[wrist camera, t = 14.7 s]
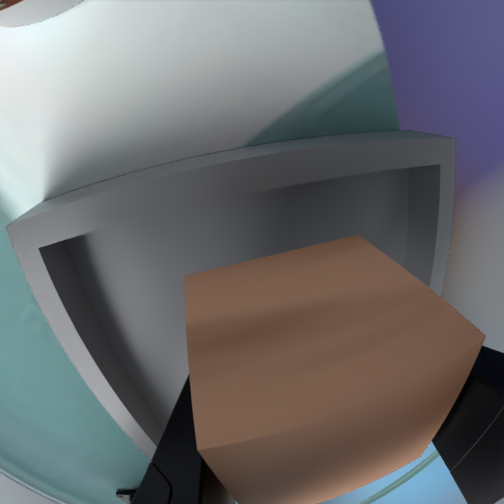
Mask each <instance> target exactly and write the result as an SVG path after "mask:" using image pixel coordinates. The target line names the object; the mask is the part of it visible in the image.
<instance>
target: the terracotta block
mask: <svg viewBox="0 0 504 504" xmlns="http://www.w3.org/2000/svg"><path fill="white" fill-rule="evenodd" d="M184 295H185V318H186V336H187V351H188V365H189V377H190V388H191V399H192V409H193V418H194V427H195V435H196V443H197V450H198V452H199V453H200V455H201V456H202V457H203V459H204V460H205V462H206V463H207V464H208V466H209V467H210V468H211V470H212V471H213V472H214V474H215V475H216V476H217V478H218V479H219V480H220V482H221V483H222V484H223V485H224V487H225V488H226V489H227V491H228V492H229V493H230V494H231V495H232V497H233V498H234V499H235V500H236V502H237V503H238V504H318V503H321V502H324V501H327V500H330V499H332V498H335V497H338V496H340V495H343V494H346V493H348V492H350V491H353V490H355V489H358V488H360V487H362V486H365V485H367V484H369V483H371V482H373V481H376V480H378V479H380V478H382V477H384V476H386V475H388V474H390V473H392V472H394V471H396V470H397V469H400V468H401V467H403V466H405V465H407V464H409V463H411V462H412V461H414V460H416V459H418V458H419V457H421V455H422V454H423V452H424V451H425V449H426V448H427V447H428V445H429V444H430V442H431V441H432V439H433V438H434V436H435V435H436V433H437V431H438V430H439V428H440V427H441V425H442V423H443V422H444V420H445V418H446V417H447V415H448V413H449V412H450V410H451V408H452V406H453V404H454V403H455V401H456V399H457V397H458V395H459V393H460V391H461V390H462V388H463V386H464V384H465V382H466V380H467V378H468V376H469V373H470V371H471V369H472V367H473V365H474V363H475V360H476V358H477V356H478V354H479V351H480V349H481V346H482V344H483V342H484V339H485V337H486V336H485V335H484V334H483V333H482V332H481V331H480V330H479V329H478V328H477V327H475V326H474V325H473V324H472V323H471V322H469V321H468V320H467V319H466V318H465V317H464V316H463V315H461V314H460V313H459V312H458V311H457V310H456V309H454V308H453V307H452V306H451V305H450V304H448V303H447V302H446V301H445V300H443V299H442V298H441V297H440V296H439V295H437V294H436V293H435V292H434V291H432V290H431V289H430V288H429V287H427V286H426V285H425V284H424V283H422V282H421V281H420V280H418V279H417V278H416V277H415V276H413V275H412V274H411V273H409V272H408V271H407V270H406V269H404V268H403V267H402V266H400V265H399V264H398V263H396V262H395V261H394V260H392V259H391V258H390V257H388V256H387V255H386V254H384V253H383V252H381V251H380V250H379V249H377V248H376V247H375V246H373V245H372V244H370V243H369V242H368V241H366V240H365V239H363V238H362V237H361V236H359V235H354V236H350V237H345V238H341V239H337V240H333V241H329V242H325V243H321V244H316V245H312V246H308V247H304V248H300V249H296V250H291V251H287V252H283V253H279V254H275V255H270V256H266V257H262V258H258V259H253V260H249V261H245V262H241V263H237V264H232V265H228V266H224V267H219V268H215V269H211V270H207V271H202V272H198V273H194V274H189V275H185V276H184Z"/></svg>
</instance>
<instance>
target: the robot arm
mask: <svg viewBox="0 0 504 504" xmlns="http://www.w3.org/2000/svg"><path fill="white" fill-rule="evenodd" d="M432 442H433V444H434V446H435V447H436V449H437V451H438V452H439V454H440V456H441V457H442V459H443V461H444V462H445V464H446V466H447V468H448V469H449V471H451V472H450V473H451V475H452V477H453V478H454V480H455V482H456V484H457V485H458V487H459V489H460V491H461V493H462V494H463V496H464V498H465V500H466V501H467V503H468V504H494V503H496V502H498V501H499V500H501V499H502V498H504V353H502V352H499V351H496V350H493V349H490V348H488V347H485V346H481V349H480V351H479V354H478V356H477V358H476V360H475V363H474V365H473V367H472V369H471V371H470V373H469V376H468V378H467V380H466V382H465V384H464V386H463V388H462V390H461V391H460V393H459V395H458V397H457V399H456V401H455V403H454V404H453V406H452V408H451V410H450V412H449V413H448V415H447V417H446V418H445V420H444V422H443V423H442V425H441V427H440V428H439V430H438V431H437V433H436V435H435V436H434V438H433V439H432ZM151 461H152V462H151V463H150V464H149V466H148V469H147V471H146V474H145V476H144V478H143V480H142V482H141V484H140V486H139V488H138V490H137V492H116V496H117V497H118V498H120V499H121V500H123V501H124V502H126V503H128V504H236V502H235V499H234V498H233V497H232V495H231V494H230V493H229V492H228V491H227V489H226V488H225V487H224V485H223V484H222V483H221V482H220V480H219V479H218V478H217V476H216V475H215V474H214V472H213V471H212V470H211V468H210V467H209V466H208V464H207V463H206V462H205V460H204V459H203V457H202V456H201V455H200V453H199V452H198V450H197V443H196V435H195V427H194V418H193V409H192V399H191V388H190V377H189V374H188V377H187V379H186V381H185V383H184V386H183V388H182V390H181V393H180V395H179V397H178V399H177V402H176V404H175V406H174V409H173V411H172V413H171V416H170V418H169V420H168V423H167V425H166V427H165V429H164V432H163V434H162V436H161V439H160V441H159V443H158V446H157V448H156V450H155V453H154V455H153V457H152V460H151Z"/></svg>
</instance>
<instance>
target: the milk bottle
mask: <svg viewBox="0 0 504 504" xmlns="http://www.w3.org/2000/svg"><path fill="white" fill-rule="evenodd" d="M81 1H83V0H0V26H3V27H20V26H25V25H30V24H34V23H38V22H41V21H44V20H46V19H48V18H51V17H54V16H57V15H59V14H60V13H62V12H64V11H66V10H68V9H70V8H72V7H74V6H75V5H77V4H78V3H80V2H81Z"/></svg>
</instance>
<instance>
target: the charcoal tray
mask: <svg viewBox="0 0 504 504" xmlns="http://www.w3.org/2000/svg"><path fill="white" fill-rule="evenodd" d="M455 180H456V138H453V137H448V136H442V135H437V134H431V133H424V132H417V131H409V130H404V131H380V132H364V133H351V134H339V135H329V136H319V137H311V138H302V139H295V140H287V141H280V142H273V143H267V144H260V145H254V146H248V147H243V148H237V149H231V150H226V151H221V152H216V153H211V154H206V155H201V156H197V157H192V158H188V159H183V160H179V161H175V162H170V163H166V164H162V165H158V166H154V167H150V168H147V169H143V170H139V171H135V172H132V173H128V174H125V175H121V176H118V177H114V178H111V179H108V180H104V181H101V182H98V183H95V184H92V185H88V186H85V187H82V188H79V189H76V190H73V191H70V192H68V193H65V194H62V195H59V196H56V197H53V198H51V199H48V200H45V201H43V202H41V203H39V204H38V205H36V206H35V207H33V208H32V209H30V210H29V211H27V212H26V213H24V214H23V215H21V216H20V217H19V218H17V219H16V220H14V221H13V222H11V223H10V224H9V225H7V226H6V229H7V232H8V235H9V238H10V240H11V243H12V246H13V248H14V251H15V253H16V256H17V258H18V261H19V263H20V266H21V268H22V270H23V273H24V275H25V277H26V279H27V282H28V284H29V286H30V288H31V290H32V292H33V294H34V296H35V298H36V300H37V302H38V304H39V306H40V308H41V310H42V312H43V314H44V316H45V318H46V320H47V321H48V323H49V325H50V327H51V329H52V330H53V332H54V334H55V336H56V337H57V339H58V341H59V342H60V344H61V346H62V347H63V349H64V350H65V352H66V354H67V355H68V357H69V358H70V360H71V362H72V363H73V365H74V366H75V368H76V369H77V371H78V372H79V374H80V375H81V376H82V378H83V379H84V381H85V382H86V384H87V385H88V386H89V388H90V389H91V391H92V392H93V393H94V395H95V396H96V397H97V399H98V400H99V401H100V403H101V404H102V405H103V406H104V408H105V409H106V410H107V412H108V413H109V414H110V415H111V417H112V418H113V419H114V420H115V421H116V423H117V424H118V425H119V426H120V427H121V429H122V430H123V431H124V432H125V433H126V434H127V435H128V437H129V438H130V439H131V440H132V441H133V442H134V443H135V444H136V445H137V447H138V448H139V449H140V450H141V451H142V452H143V453H144V454H145V455H146V456H147V457H148V458H149V459H150V460H152V457H153V455H154V453H155V450H156V448H157V446H158V443H159V441H160V439H161V436H162V434H163V432H164V429H165V427H166V425H167V423H168V420H169V418H170V416H171V413H172V411H173V409H174V406H175V404H176V402H177V399H178V397H179V395H180V393H181V390H182V388H183V386H184V383H185V381H186V379H187V377H188V374H189V365H188V351H187V336H186V318H185V295H184V276H185V275H189V274H194V273H198V272H202V271H207V270H211V269H215V268H219V267H224V266H228V265H232V264H237V263H241V262H245V261H249V260H253V259H258V258H262V257H266V256H270V255H275V254H279V253H283V252H287V251H291V250H296V249H300V248H304V247H308V246H312V245H316V244H321V243H325V242H329V241H333V240H337V239H341V238H345V237H350V236H354V235H359V236H361V237H362V238H363V239H365V240H366V241H368V242H369V243H370V244H372V245H373V246H375V247H376V248H377V249H379V250H380V251H381V252H383V253H384V254H386V255H387V256H388V257H390V258H391V259H392V260H394V261H395V262H396V263H398V264H399V265H400V266H402V267H403V268H404V269H406V270H407V271H408V272H409V273H411V274H412V275H413V276H415V277H416V278H417V279H418V280H420V281H421V282H422V283H424V284H425V285H426V286H427V287H429V288H430V289H431V290H432V291H434V292H435V293H436V294H437V295H439V296H440V297H441V294H442V289H443V284H444V279H445V273H446V268H447V262H448V255H449V249H450V241H451V232H452V224H453V214H454V201H455V182H456V181H455Z"/></svg>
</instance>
